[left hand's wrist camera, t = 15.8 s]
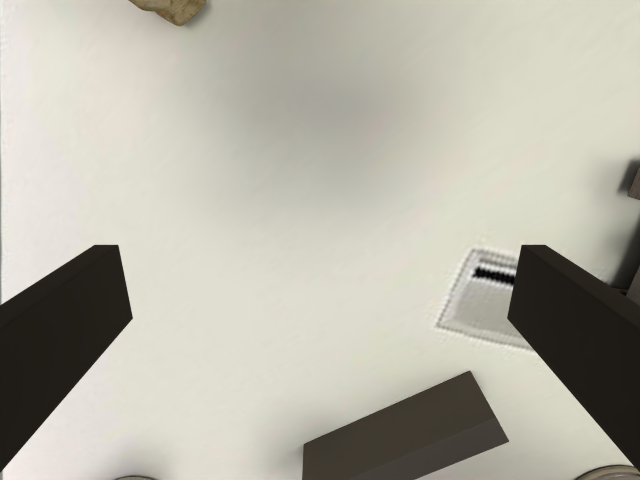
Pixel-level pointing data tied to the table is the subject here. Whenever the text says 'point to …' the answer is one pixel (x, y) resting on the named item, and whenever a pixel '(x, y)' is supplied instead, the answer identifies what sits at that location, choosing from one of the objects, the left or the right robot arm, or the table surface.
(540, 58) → the table surface
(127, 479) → the bust sculpture
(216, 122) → the table surface
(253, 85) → the table surface
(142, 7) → the sculpture
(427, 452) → the bar
